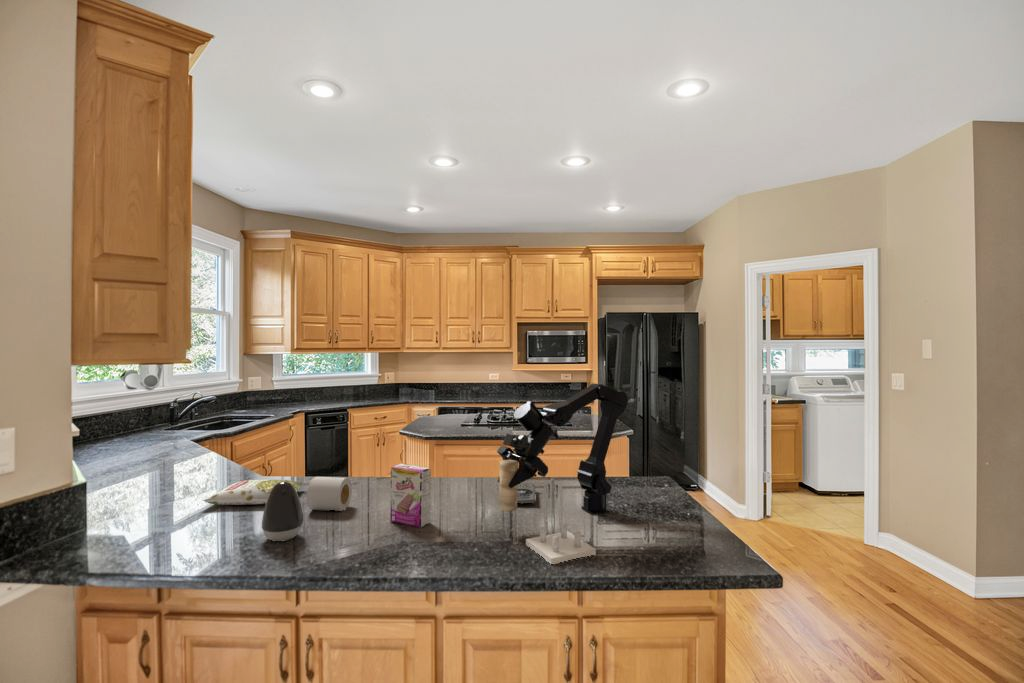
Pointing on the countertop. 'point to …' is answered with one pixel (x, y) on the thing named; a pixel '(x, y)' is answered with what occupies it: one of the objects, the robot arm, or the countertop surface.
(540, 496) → the countertop surface
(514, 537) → the countertop surface
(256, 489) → the frozen beans
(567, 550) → the pin plate
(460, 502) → the countertop surface
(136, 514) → the countertop surface
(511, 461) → the maple post
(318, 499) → the toilet paper
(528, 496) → the graphics card
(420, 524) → the candy bar box
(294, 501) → the aroma diffuser
